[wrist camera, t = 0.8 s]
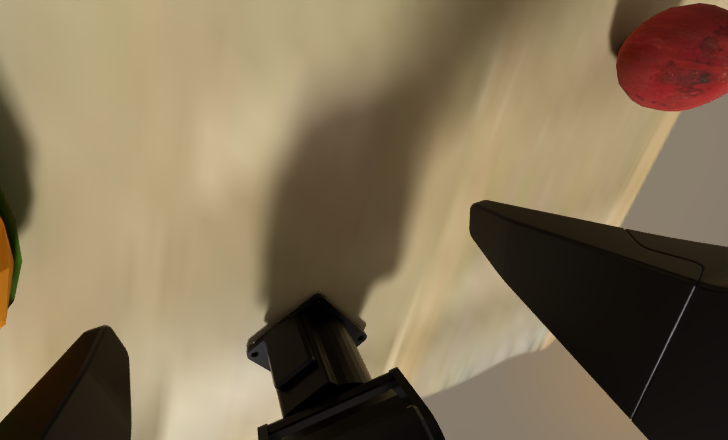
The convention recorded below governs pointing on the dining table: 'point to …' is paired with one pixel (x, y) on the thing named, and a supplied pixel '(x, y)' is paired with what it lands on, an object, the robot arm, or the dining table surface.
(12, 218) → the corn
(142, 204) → the dining table surface
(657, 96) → the red oval piece
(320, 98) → the dining table surface
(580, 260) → the robot arm
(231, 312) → the dining table surface
